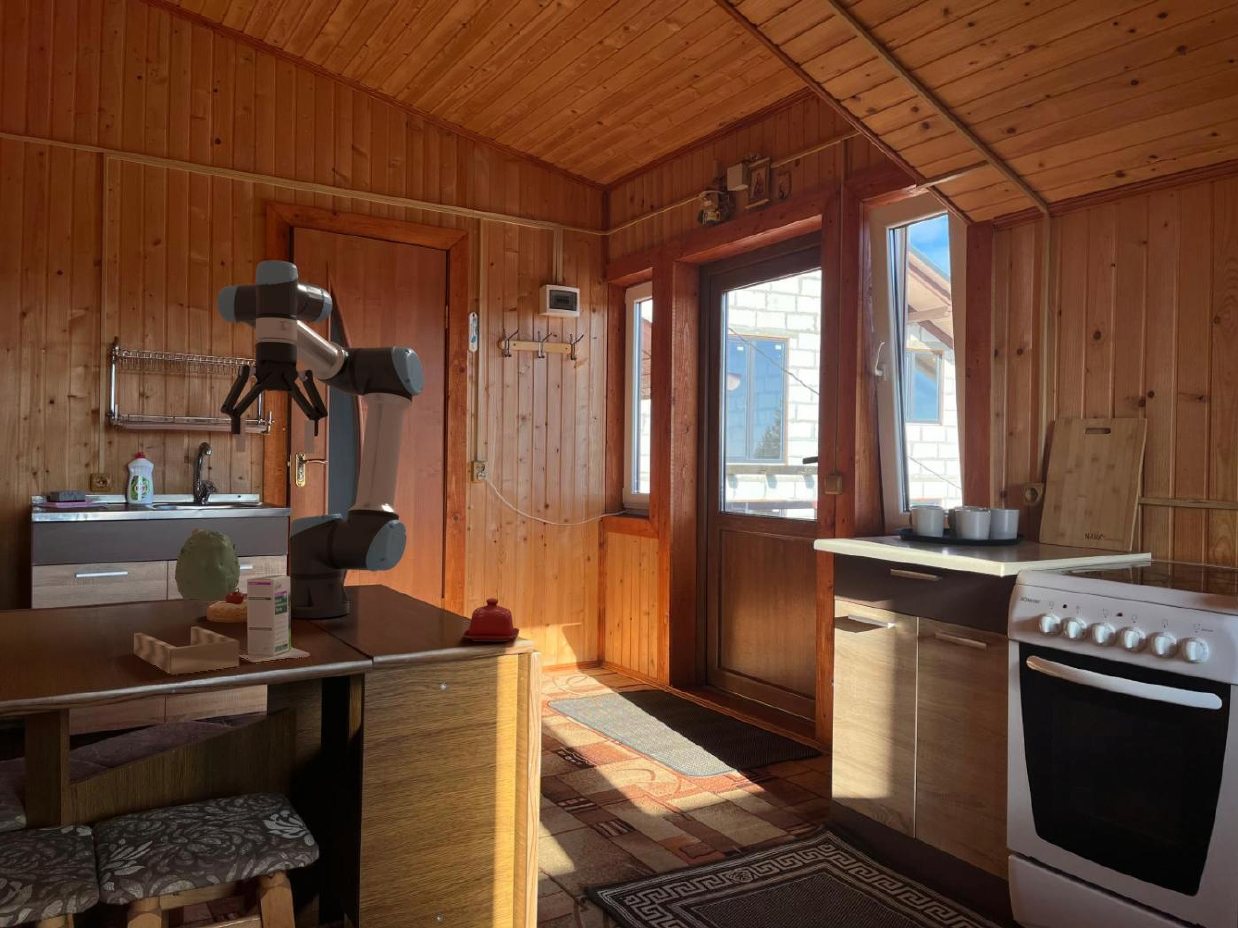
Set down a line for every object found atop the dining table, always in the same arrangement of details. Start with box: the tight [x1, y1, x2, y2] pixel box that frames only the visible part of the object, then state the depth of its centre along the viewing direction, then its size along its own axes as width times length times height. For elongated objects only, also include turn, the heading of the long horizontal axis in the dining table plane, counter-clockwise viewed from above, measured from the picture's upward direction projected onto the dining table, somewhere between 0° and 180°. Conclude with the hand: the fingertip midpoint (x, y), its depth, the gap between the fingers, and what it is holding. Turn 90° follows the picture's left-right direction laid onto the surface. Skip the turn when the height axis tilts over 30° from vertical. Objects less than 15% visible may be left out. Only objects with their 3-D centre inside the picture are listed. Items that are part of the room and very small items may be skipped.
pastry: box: [206, 587, 247, 624], centre depth 212 cm, size 12×12×9 cm
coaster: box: [239, 646, 311, 662], centre depth 179 cm, size 11×11×1 cm
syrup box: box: [246, 574, 292, 656], centre depth 178 cm, size 6×6×14 cm
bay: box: [133, 626, 240, 675], centre depth 171 cm, size 20×11×5 cm, turn 44°
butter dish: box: [462, 597, 520, 642], centre depth 200 cm, size 12×12×8 cm
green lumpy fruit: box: [174, 528, 241, 601], centre depth 239 cm, size 16×19×20 cm
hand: (275, 453), depth 181 cm, fingers open, 13 cm apart
